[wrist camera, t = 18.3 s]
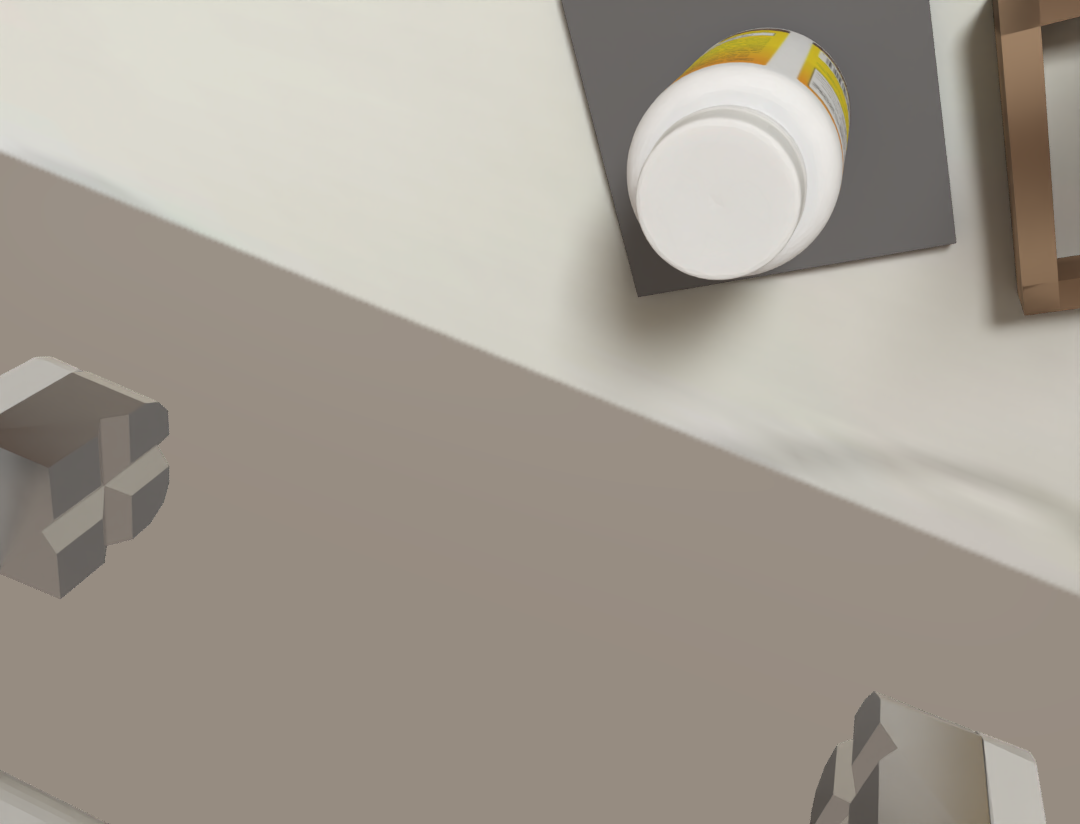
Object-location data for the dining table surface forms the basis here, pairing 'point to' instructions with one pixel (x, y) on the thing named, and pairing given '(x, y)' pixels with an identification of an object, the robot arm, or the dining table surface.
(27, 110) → the dining table surface
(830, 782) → the robot arm
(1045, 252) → the cup collar
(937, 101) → the rubber mat
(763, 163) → the supplement bottle
